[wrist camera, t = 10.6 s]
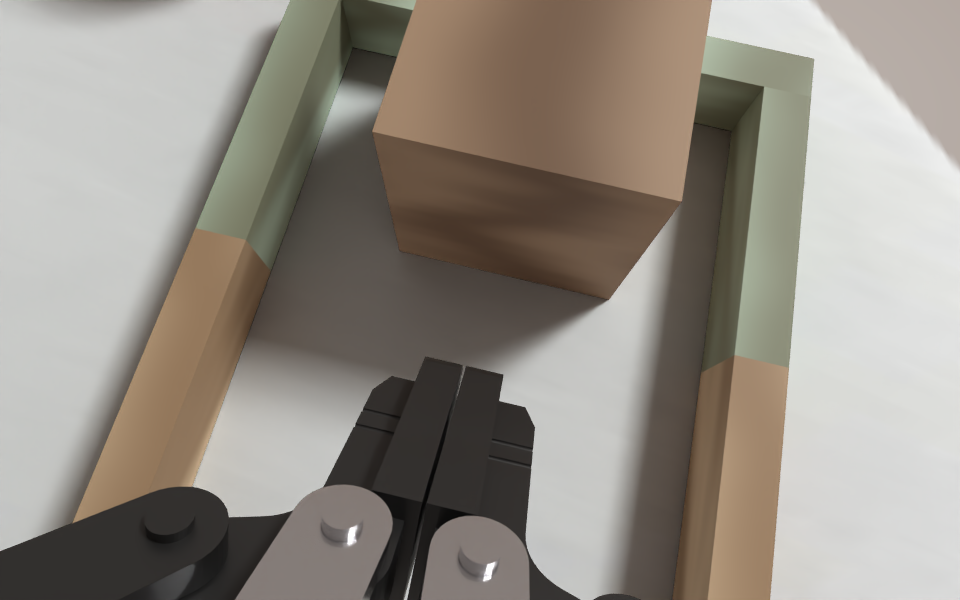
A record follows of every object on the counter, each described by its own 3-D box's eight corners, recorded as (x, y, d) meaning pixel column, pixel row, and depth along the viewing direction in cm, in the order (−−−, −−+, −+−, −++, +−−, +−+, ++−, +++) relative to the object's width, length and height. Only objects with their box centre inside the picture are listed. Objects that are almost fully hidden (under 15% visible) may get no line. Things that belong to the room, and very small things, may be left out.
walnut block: (399, 251, 21) (372, 131, 14) (451, 78, 23) (449, -97, 16) (608, 300, 20) (682, 201, 14) (640, 120, 22) (718, -41, 16)
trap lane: (-69, 1011, 14) (-174, 1112, 12) (326, 6, 23) (311, -50, 21) (663, 1225, 14) (706, 1378, 11) (776, 105, 23) (814, 58, 20)
